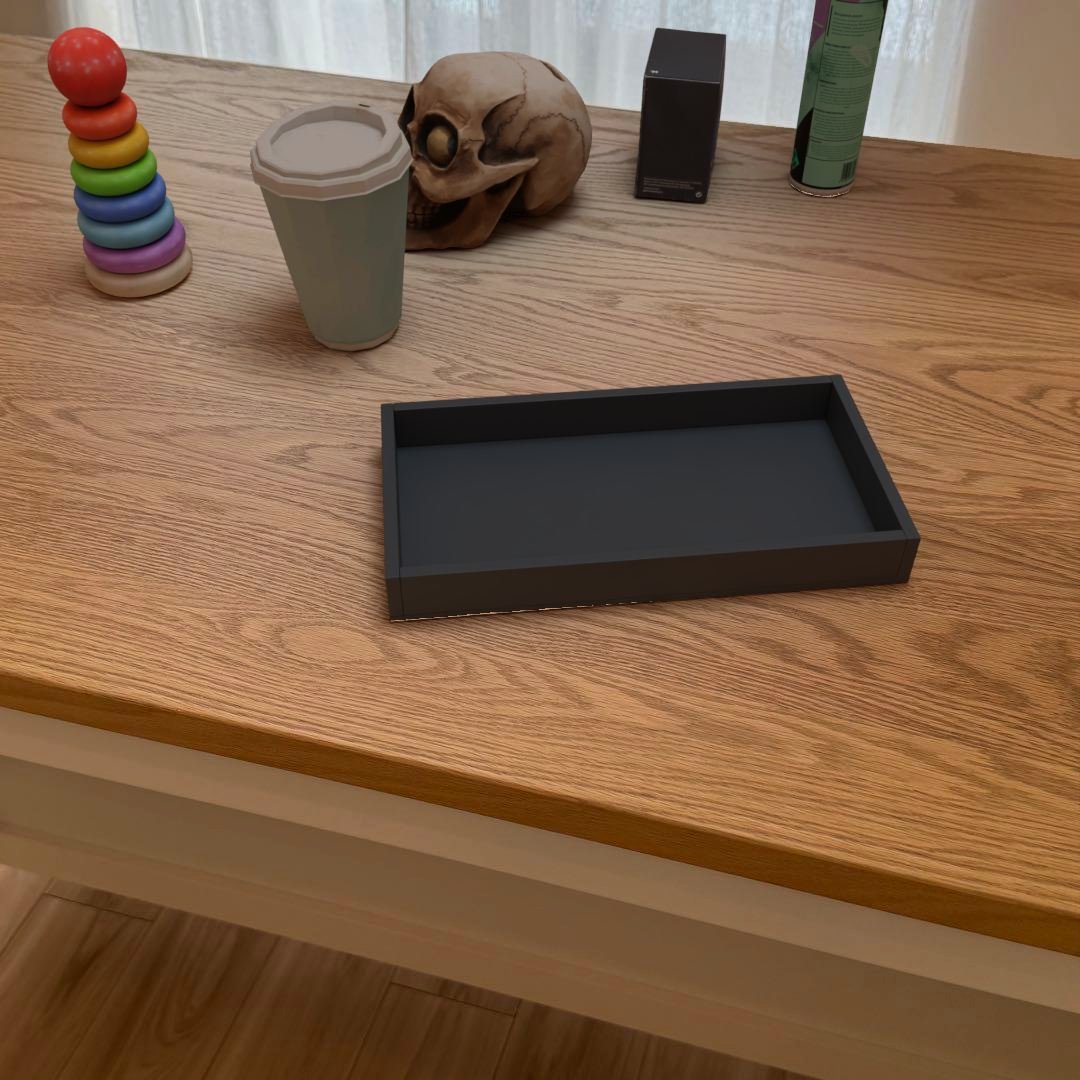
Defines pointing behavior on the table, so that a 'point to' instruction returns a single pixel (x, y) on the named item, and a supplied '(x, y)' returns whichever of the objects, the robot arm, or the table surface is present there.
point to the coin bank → (489, 145)
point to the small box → (680, 114)
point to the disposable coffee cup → (339, 215)
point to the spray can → (836, 94)
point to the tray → (635, 497)
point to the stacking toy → (115, 172)
